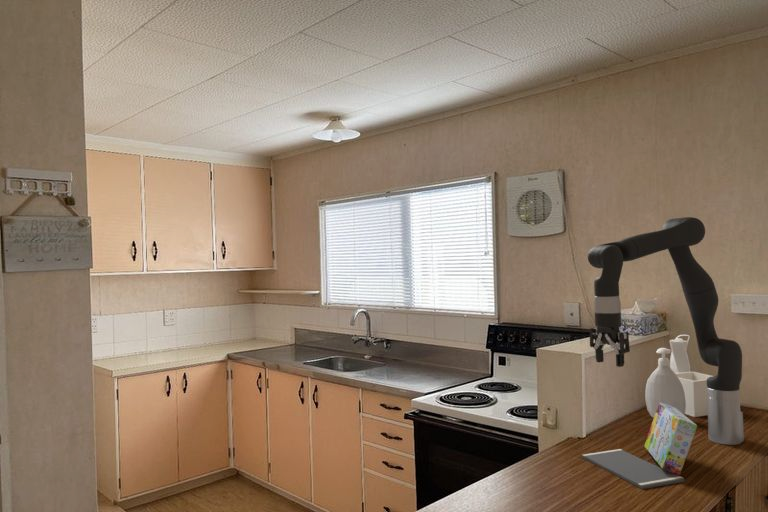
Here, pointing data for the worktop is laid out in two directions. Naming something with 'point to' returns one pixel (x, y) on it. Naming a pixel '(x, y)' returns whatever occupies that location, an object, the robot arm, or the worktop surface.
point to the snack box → (670, 438)
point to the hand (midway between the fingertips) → (609, 364)
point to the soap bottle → (664, 387)
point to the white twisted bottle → (679, 355)
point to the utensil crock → (695, 392)
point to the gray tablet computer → (632, 468)
